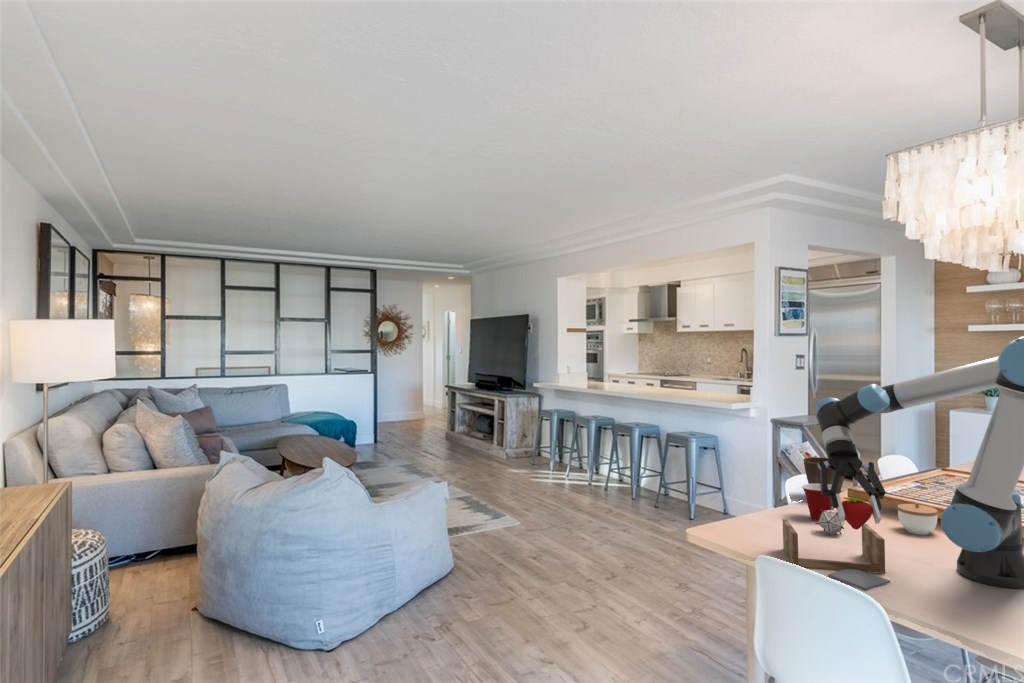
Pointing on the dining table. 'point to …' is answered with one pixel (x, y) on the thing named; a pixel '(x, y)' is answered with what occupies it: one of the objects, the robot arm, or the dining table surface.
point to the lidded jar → (917, 518)
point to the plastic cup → (816, 500)
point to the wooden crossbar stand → (870, 550)
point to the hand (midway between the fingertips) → (860, 519)
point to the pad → (859, 578)
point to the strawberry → (856, 512)
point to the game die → (830, 521)
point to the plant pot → (814, 472)
